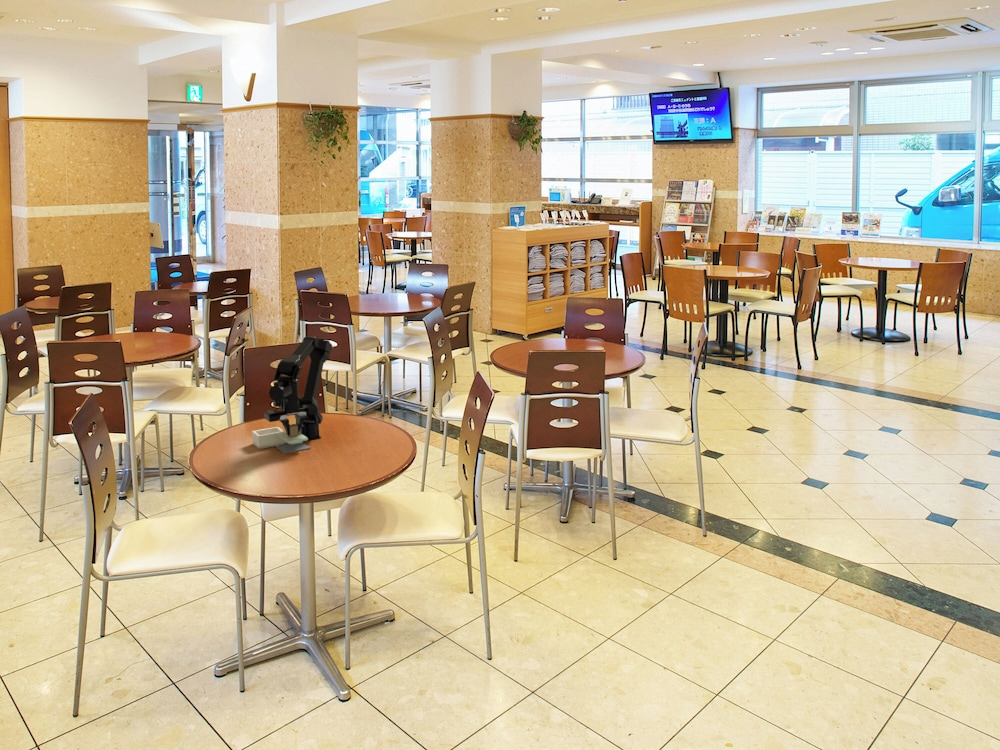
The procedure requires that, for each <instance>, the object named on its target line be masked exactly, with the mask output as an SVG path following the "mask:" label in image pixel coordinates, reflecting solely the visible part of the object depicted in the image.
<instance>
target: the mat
mask: <svg viewBox="0 0 1000 750" xmlns="http://www.w3.org/2000/svg"><path fill="white" fill-rule="evenodd" d="M275 448H276V449H278V450H279V451H280V452H281V453H283V454H284V455H285V454H291V453H295V452H300V451H306V450H311V447H310V446H308V444H306V443H305V442H304V441H303V442H302V443H296V444H290V443H289V444H288V443H285V444H284V445H279V446H275Z"/></svg>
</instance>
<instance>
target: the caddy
mask: <svg viewBox="0 0 1000 750" xmlns="http://www.w3.org/2000/svg"><path fill="white" fill-rule="evenodd" d="M280 433H286V431H285V430H283V429H282V428H281V427H279V426H274V427H268V428H263V429H256V430H251V434H252V435H251V436H252V445H254V446H255V447H256V448H257V449H258V450H260V449H267V448H272V447H276V446H279V445H285V444H286V441H284V440H283V439H282V438H280V437H279V436H278V434H280Z"/></svg>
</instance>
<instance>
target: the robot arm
mask: <svg viewBox="0 0 1000 750" xmlns="http://www.w3.org/2000/svg"><path fill="white" fill-rule="evenodd" d="M332 350H333V345H332V343H331V342H330V340H329V339H327V340H326V339H321V338H319V337H316V336H309V335H308V336H304V337H303V339H302V342H301V343H300V344H299V345H298V346H297V348H296V349H294V351H293V352H292V354H290V355H289V356H286V357H284V358H282V359H281V360H280V361H279V362H278V364H277V367H276V369H275V375H274V378H273V380H274V382H273V386H272V387H270V389H269V391H268V396H269V397H270V399H271V400H272V404H273V407H274V408H278V410H281V411H277V410H276V409H268V410H266V411H264V415H263V417H264V419H265V420H267V421H268V422H270V423H273V422H280V423H281V424H282V425H283V428H284V432H285V433H287V435H288V436H289V435H290V428H289V425H290V419H288V418H287V417H289V416H294V418H295V424H296V425H297V426H298V434H299V432H300V433H301V434H303V435H304V436H306V437H307V438H308V440H306V441H305V442H308V441H312V440H317V439H322V437H321V436H320V425H321V424H322V422H323V417H324V416H323V415H322V413H321V412H320V411H319V407H320V406H319V404H318V400H317V395H318V392H319V387H320V382H321V377H322V372H323V369H324V368H323V367H324V364H325V363H326V361H327V360H328V359H329V358H330V355H331V352H332ZM308 357H309V359H310V363H309V364H310V365H309V368H308V373H307V377H306V382H305V387H304V392H303V395H302V396H301V397H300V392H299V380H301V377H300V374H301V372H302V370H303V366H302V365H303V363H304V362H305V361H306V360H307V358H308Z"/></svg>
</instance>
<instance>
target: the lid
mask: <svg viewBox="0 0 1000 750" xmlns="http://www.w3.org/2000/svg"><path fill="white" fill-rule="evenodd" d="M289 428H290V435H289V436H288V435H287V433H286V432H285V433H280V434H278V436H279V437H280V438H282V439H283V440H284V441H285V443H286V444H296V443H302V442H303V443H304V442H307V441H306V440H308V438H307V437H306V436H304V435H303V434H301V433H300V432H299V434H298V426H297V425H296V423H292V424H289ZM308 441H309V440H308Z"/></svg>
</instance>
